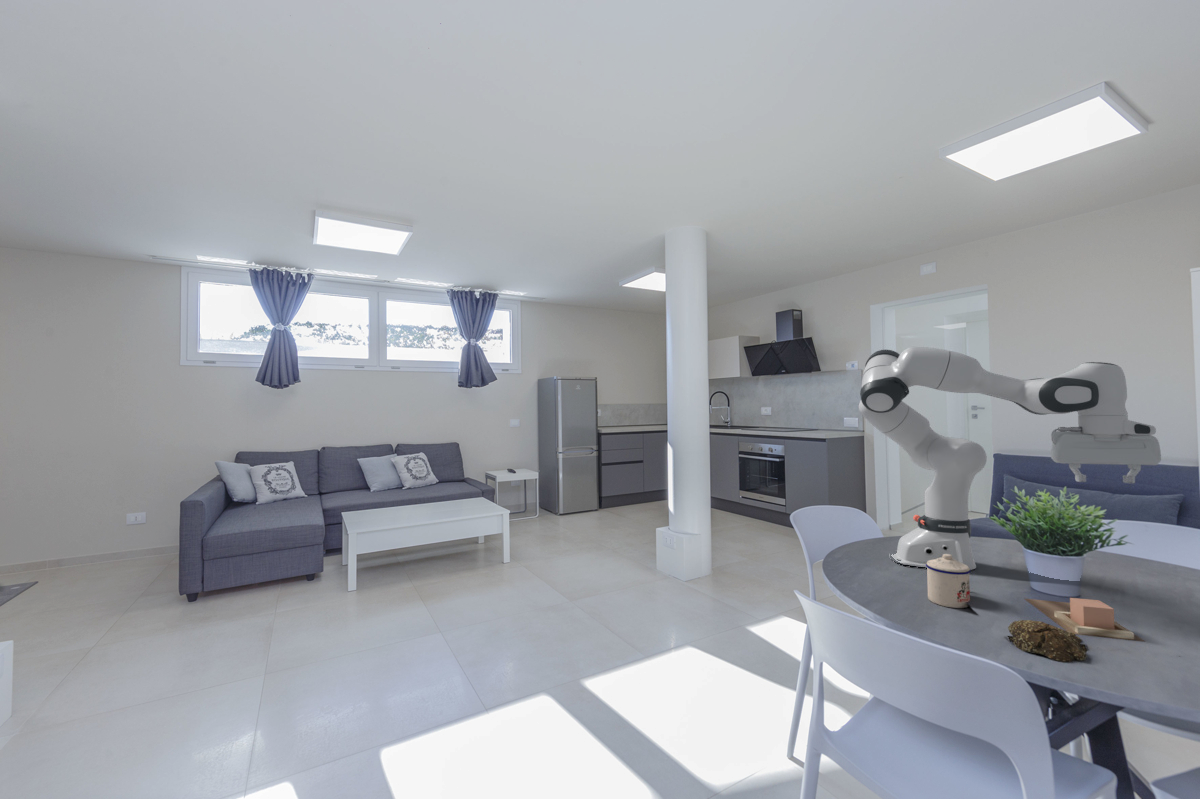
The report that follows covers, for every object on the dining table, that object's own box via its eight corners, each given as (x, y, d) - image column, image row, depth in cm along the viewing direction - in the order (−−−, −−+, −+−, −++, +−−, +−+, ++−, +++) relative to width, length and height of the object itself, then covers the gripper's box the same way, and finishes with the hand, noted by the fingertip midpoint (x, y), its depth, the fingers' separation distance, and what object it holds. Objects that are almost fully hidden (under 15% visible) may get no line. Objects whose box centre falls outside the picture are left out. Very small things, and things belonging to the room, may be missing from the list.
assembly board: (1070, 640, 104) (1069, 627, 104) (1024, 604, 122) (1023, 593, 122) (1145, 649, 100) (1145, 635, 100) (1086, 610, 119) (1085, 599, 119)
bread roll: (1007, 629, 110) (1006, 606, 110) (1085, 645, 102) (1085, 621, 102) (1005, 650, 100) (1004, 625, 100) (1092, 671, 92) (1091, 643, 92)
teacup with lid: (966, 612, 118) (965, 562, 119) (922, 601, 125) (921, 554, 125) (977, 598, 127) (976, 552, 127) (935, 589, 133) (933, 545, 133)
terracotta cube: (1084, 630, 105) (1083, 606, 105) (1070, 620, 110) (1069, 597, 110) (1114, 633, 103) (1113, 609, 103) (1099, 623, 108) (1098, 600, 108)
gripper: (1057, 427, 126) (1059, 482, 126) (1164, 427, 120) (1166, 485, 119) (1045, 426, 132) (1046, 479, 132) (1146, 426, 126) (1148, 482, 125)
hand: (1104, 482), depth 126 cm, fingers open, 8 cm apart
